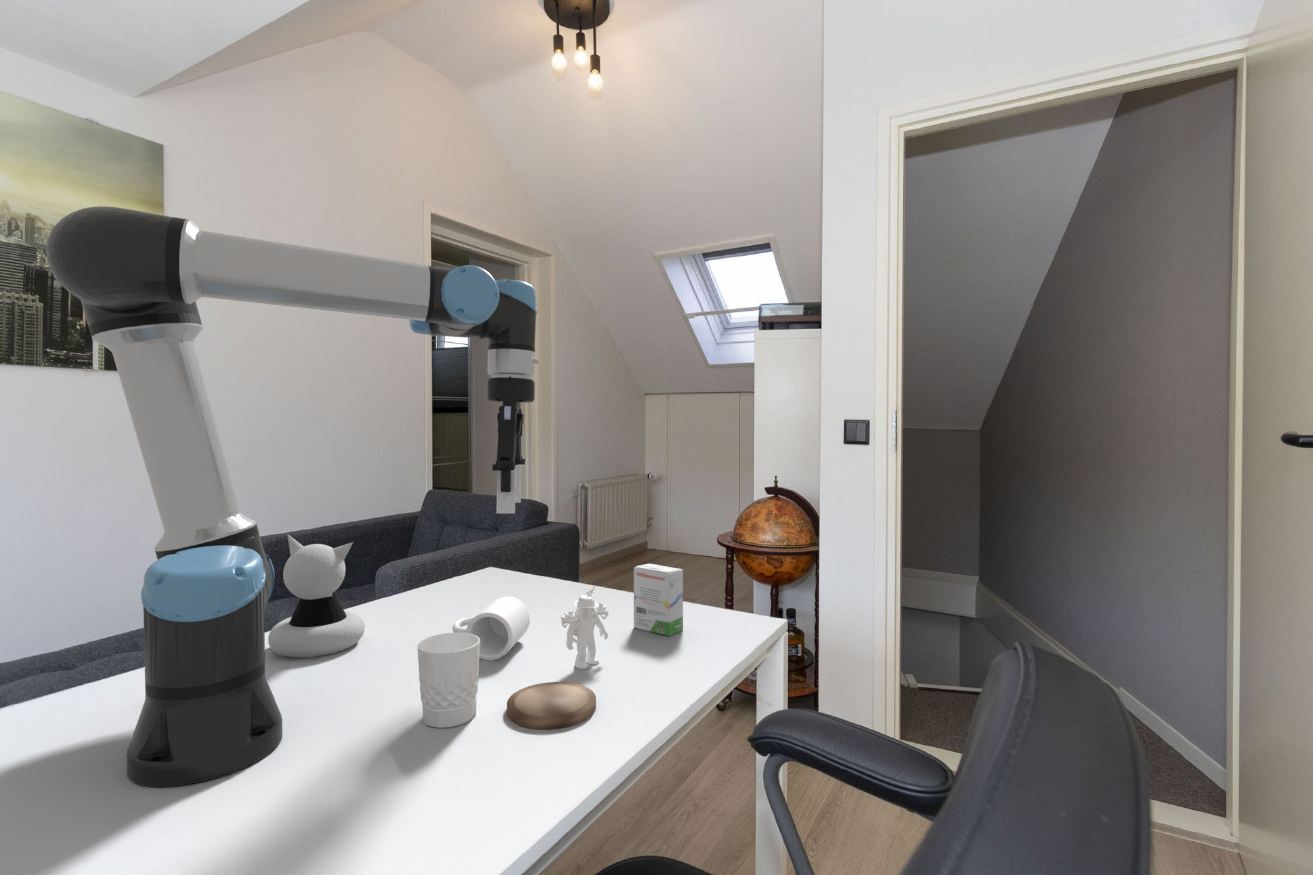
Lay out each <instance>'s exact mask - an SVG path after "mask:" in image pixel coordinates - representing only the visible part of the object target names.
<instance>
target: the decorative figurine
mask: <svg viewBox="0 0 1313 875" xmlns="http://www.w3.org/2000/svg"><path fill="white" fill-rule="evenodd" d="M287 541H288V548H289V553H290V556H289V558H288V559H287V560H286V562H285V564H284V568H283V573H282V575H283V576H282V577H283V583H284V585H285V587H286V588H287V589H288V591H289V592H290V593H291V594H292V595H294V596H295V597H297V598H300V599H299V600H298V602H297V605H296V607H295V610H294V611H293V614H292V616H289V617H287V618H285V619H283V620H282V621H281V620H280V621H279V622H278V623H276V624H275V625H274V626H273V627H272V629H271V630H270V632H269V634H268V636H267V639H268V645H269V648H270V649H271V650H272V652H274V653H275V654H278V655H279V656H283V657H286V658H287V657H288V658H295V659H297V658H300V659H301V658H302V659H303V658H306V659H307V658H316V657H322V656H326V655H327V656H328V655H331V654H335V653H339V652H342V651H344V650H346V649H349V648H351V647H352V646H354V645H356V644H357V643H358V642H359V641H360V640H361V638H362V637H363V636H364V633H365V629H366V627H365V625H366V624H365V622H364V620H363V618H362V617H361V616H360V615H358V614H357V613H355V612H353V611H348V610H344V608H343V605H342V604H341V602H340V600H339V599H338V596H337V595H336V593H335V592H336V590H338V589H339V588H340V586H342V584H343V581H344V579H345V577H346V562H345V559H346V556H347V555H348V553H349V552H350V549H351V548H352V545H353V544H354V541H352V542H349V543H346V544H343V545H340V546H337V547H334V548H333V547H331V546H330V545H326V544H322V543H313V544H308V545H302V544H301V543H300V542H299V541H298V540H296V539H295V538H293V536H291V535H289V534H288V533H287Z"/></svg>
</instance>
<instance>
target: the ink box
mask: <svg viewBox="0 0 1313 875" xmlns="http://www.w3.org/2000/svg"><path fill="white" fill-rule="evenodd" d="M633 628H635V629H637V630H642V631H647V632H650V633H653V634H654V633H655V634H658V635H662V636H666V637H671V636H673V635H676V634H678V633H679V632H681V631H683V630H684V569H682V568H676V567H670V566H665V565H659V564H656V563H655V564H653V563H646V564H640V565H636V566H635V567H633Z"/></svg>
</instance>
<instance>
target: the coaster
mask: <svg viewBox="0 0 1313 875" xmlns="http://www.w3.org/2000/svg"><path fill="white" fill-rule="evenodd" d="M596 709H597V696H596V694H595V692H594V691H593V690H592V689H590V688H589V687H588V686H584V685H583V684H579V683H576V682H575V683H573V682H569V681H568V682H567V681H566V682H565V681H551V682H550V681H548V682H541V683H536V684H532V685H529V686H525V687H523V688H521V689H519V690H517V691H515V692H514V693H513V694H511V695H510V696H509V698H508V699H507V701H506V715H507V718H508V719H509V720H510V722H512V723H514V724H516V725H518V726H520V727H523V728H528V729H533V730H557V729H564V728H568V727H572V726H575V725H578V724H580V723H582V722H584V721H587V720H588V719H589V718H591V716H593V714H594V713H595V712H596Z"/></svg>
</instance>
